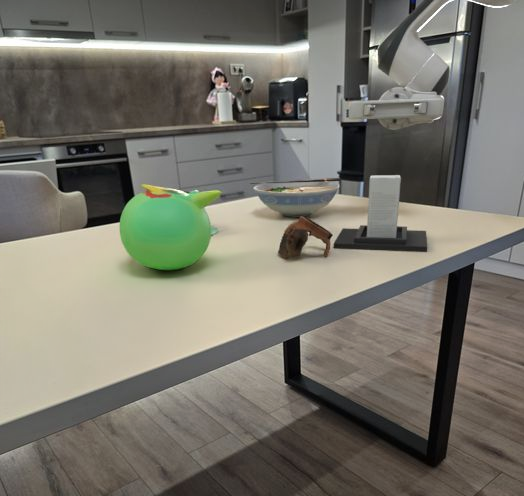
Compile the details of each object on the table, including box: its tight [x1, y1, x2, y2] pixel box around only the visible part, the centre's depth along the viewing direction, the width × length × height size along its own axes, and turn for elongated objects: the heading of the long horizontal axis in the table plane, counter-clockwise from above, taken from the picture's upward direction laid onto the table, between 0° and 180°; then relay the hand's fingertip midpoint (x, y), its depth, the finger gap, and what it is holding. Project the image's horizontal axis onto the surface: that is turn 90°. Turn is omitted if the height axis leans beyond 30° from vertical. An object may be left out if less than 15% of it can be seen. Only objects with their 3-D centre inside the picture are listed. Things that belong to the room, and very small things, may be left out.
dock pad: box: [333, 224, 428, 253], centre depth 100 cm, size 18×14×2 cm
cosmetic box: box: [366, 174, 402, 238], centre depth 98 cm, size 6×4×12 cm
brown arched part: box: [277, 216, 333, 260], centre depth 91 cm, size 12×10×8 cm
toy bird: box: [119, 183, 222, 271], centre depth 85 cm, size 18×17×15 cm
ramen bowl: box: [249, 177, 342, 218], centre depth 128 cm, size 25×23×8 cm
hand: (394, 108), depth 100 cm, fingers open, 8 cm apart
